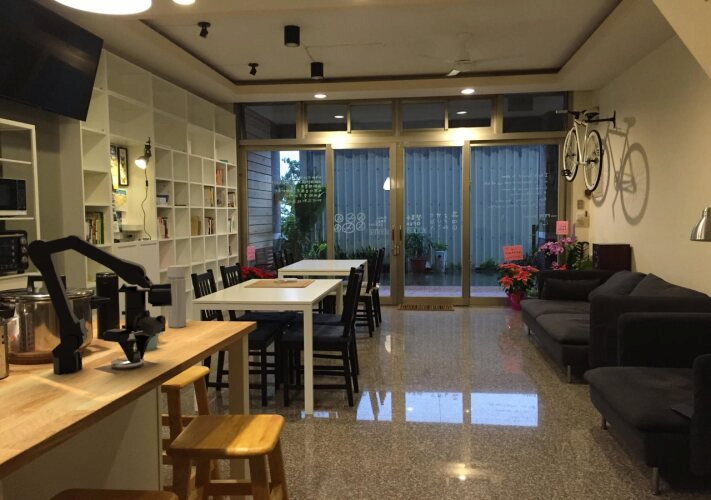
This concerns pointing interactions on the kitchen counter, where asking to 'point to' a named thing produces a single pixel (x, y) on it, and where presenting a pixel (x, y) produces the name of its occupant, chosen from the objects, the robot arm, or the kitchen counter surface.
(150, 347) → the cup
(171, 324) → the water bottle
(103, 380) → the kitchen counter surface
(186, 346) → the kitchen counter surface
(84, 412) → the kitchen counter surface
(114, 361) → the handwheel
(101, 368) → the board
